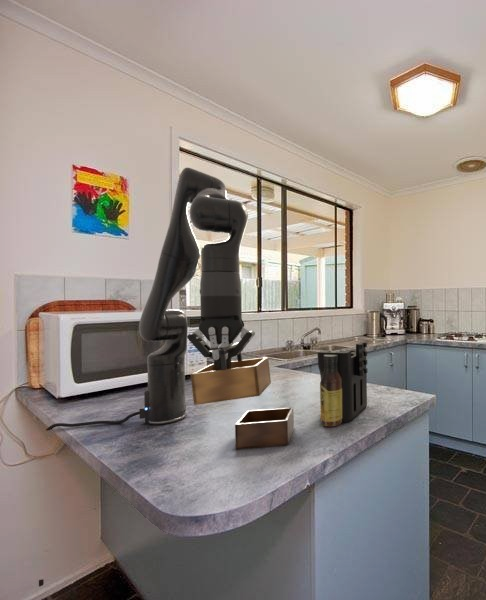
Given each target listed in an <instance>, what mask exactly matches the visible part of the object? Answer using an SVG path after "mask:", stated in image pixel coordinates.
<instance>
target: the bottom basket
mask: <svg viewBox="0 0 486 600" xmlns="http://www.w3.org/2000/svg"><path fill="white" fill-rule="evenodd" d="M294 413H295V412H294V407H284V408H283V407H281V408H267V409H265V408H264V409H251V410H246V411H245V412H244V414H243V415H242V416H241V417H240V419H238V420H237V422H236V423H235V424H234V433H235V434H234V436H235V437H234V438H235V439H234V440H235V443H234V444H235V450H245V449H257V448H267V447H280V446H288V445H289V443H290V440H291V438H292V436H293V432H294V429H295V422H294V421H295V420H294V418H295V417H294Z"/></svg>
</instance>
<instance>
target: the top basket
mask: <svg viewBox="0 0 486 600" xmlns="http://www.w3.org/2000/svg"><path fill="white" fill-rule="evenodd" d="M239 342H240V341H237V342H235V343H233V345H230V346H228V347H225V348H223V349H220V350H219V354H220V359H221V368H222V370H217V371H214V363H211V364H209V365H206V366H205V367H203V368H201V369H198V370H196V371H194V372H192V373H190V381H191V390H192V399H193V405H194V406H199V405H204V404H210V403H218V402H219V403H220V402H225V401H226V402H227V401H232V400H240V399H247V398H254V397H260V396H262V394H263V392H264V391H265V390H266V389H267V388H269V386H270V384H272V380H271V371H270V361H269V356H265V357H258V358H256V357H255V358H249V359H248V358H247V359H243V356H242V352H241V353H240V354H238V355H236V359H237V360H231V369H227V365H226V356H225V354H226V353H229V352H231V351H233V349H234V348H235V347H236V345H237V344H238V343H239Z"/></svg>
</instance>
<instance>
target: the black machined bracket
mask: <svg viewBox="0 0 486 600" xmlns="http://www.w3.org/2000/svg"><path fill="white" fill-rule="evenodd" d="M367 347H368V342H367V341H361V342H358V343H355V348H350V349H345V350H342V349H341V350H339V351H338V350H337V351H331V350H318V351H317V352H316V353H317V354H316V355H317V367H318V370H319V374H320V375H319V376H320V380H321V379H322V376H323V372H324V360H323V359H324V355H326V354H329V355H338V361H337V366H338V372H339V374H340V376H341V378H342V423H341V424H344V423H345V424H346V423H348V422H351V421H352V420H353V419H354V418H355V417H356V416H357V415H358V414H360V413H361V412H362V411H363V410H364V409H365V408H366V407H367V406H368V383H367V381H368V379H367V376H368V375H367V374H368V373H369V372H368V368H367V365H368V359H367V356H368V350H366V348H367Z"/></svg>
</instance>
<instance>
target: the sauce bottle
mask: <svg viewBox="0 0 486 600" xmlns="http://www.w3.org/2000/svg"><path fill="white" fill-rule="evenodd" d="M323 360H324V372H323V376H322V379H321V378H320V382H319V386H320V387H319V399H320V400H319V401H320V406H319V407H320V422H321V424H322V426H324V427H328V428H329V427H337V426H338V427H339V426H340V425H341V424H343V423H342V378H341V376H340V374H339V372H338V366H337V361H338V355H329V354H326V355H324V359H323Z"/></svg>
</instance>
